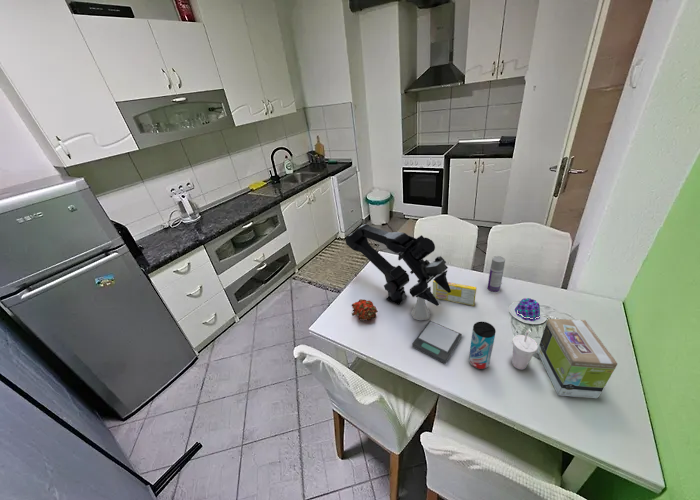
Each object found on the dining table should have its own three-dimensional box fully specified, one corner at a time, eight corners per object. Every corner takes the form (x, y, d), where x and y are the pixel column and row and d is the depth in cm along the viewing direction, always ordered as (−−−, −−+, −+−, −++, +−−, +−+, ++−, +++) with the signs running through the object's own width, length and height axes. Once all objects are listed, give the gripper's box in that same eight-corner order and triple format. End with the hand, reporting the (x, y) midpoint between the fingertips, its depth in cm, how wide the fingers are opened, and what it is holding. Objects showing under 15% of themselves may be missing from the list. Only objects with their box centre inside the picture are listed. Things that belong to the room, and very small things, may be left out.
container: (488, 284, 118) (493, 254, 110) (501, 287, 115) (506, 257, 108) (486, 290, 115) (490, 260, 107) (498, 293, 112) (504, 263, 105)
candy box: (474, 302, 110) (476, 286, 106) (474, 306, 108) (476, 290, 104) (433, 294, 117) (433, 278, 113) (432, 297, 116) (432, 282, 111)
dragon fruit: (377, 327, 107) (355, 318, 116) (385, 307, 109) (363, 299, 118) (365, 322, 102) (343, 312, 110) (374, 300, 104) (351, 292, 112)
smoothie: (529, 357, 87) (538, 326, 80) (533, 375, 82) (544, 343, 75) (506, 353, 89) (513, 322, 82) (508, 370, 84) (517, 339, 77)
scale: (412, 347, 96) (412, 342, 95) (429, 323, 104) (429, 318, 103) (445, 364, 89) (446, 359, 87) (461, 337, 97) (462, 332, 95)
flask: (430, 321, 105) (431, 301, 99) (411, 320, 106) (410, 301, 101) (429, 308, 111) (430, 288, 105) (411, 307, 112) (411, 288, 107)
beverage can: (466, 354, 91) (470, 322, 83) (484, 353, 90) (490, 320, 82) (472, 370, 86) (477, 337, 78) (492, 369, 85) (499, 336, 77)
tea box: (599, 399, 74) (620, 364, 66) (557, 396, 76) (572, 361, 68) (571, 352, 86) (586, 318, 79) (535, 350, 89) (546, 317, 81)
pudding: (526, 298, 108) (529, 288, 105) (555, 319, 98) (558, 308, 95) (501, 308, 106) (503, 297, 103) (527, 330, 96) (530, 319, 93)
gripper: (416, 264, 88) (448, 304, 86) (443, 242, 100) (472, 277, 97) (397, 278, 96) (425, 315, 94) (423, 257, 108) (449, 289, 106)
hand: (444, 298), depth 98 cm, fingers open, 9 cm apart
